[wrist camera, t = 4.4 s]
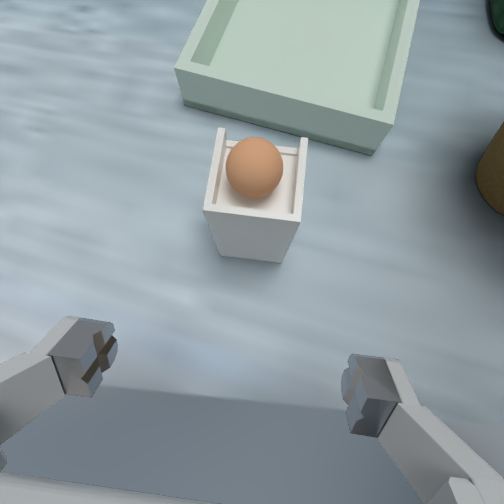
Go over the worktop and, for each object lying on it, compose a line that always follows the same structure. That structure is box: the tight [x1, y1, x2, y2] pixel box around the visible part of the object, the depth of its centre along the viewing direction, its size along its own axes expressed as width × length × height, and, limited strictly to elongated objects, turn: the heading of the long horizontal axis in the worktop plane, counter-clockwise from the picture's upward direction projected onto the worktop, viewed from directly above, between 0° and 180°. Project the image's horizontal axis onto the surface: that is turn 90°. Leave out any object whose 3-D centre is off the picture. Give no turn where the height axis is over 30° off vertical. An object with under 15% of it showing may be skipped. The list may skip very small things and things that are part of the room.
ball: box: [226, 137, 283, 198], centre depth 15 cm, size 3×3×3 cm
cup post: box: [203, 128, 308, 263], centre depth 19 cm, size 5×5×9 cm
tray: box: [174, 0, 420, 156], centre depth 27 cm, size 18×20×4 cm
